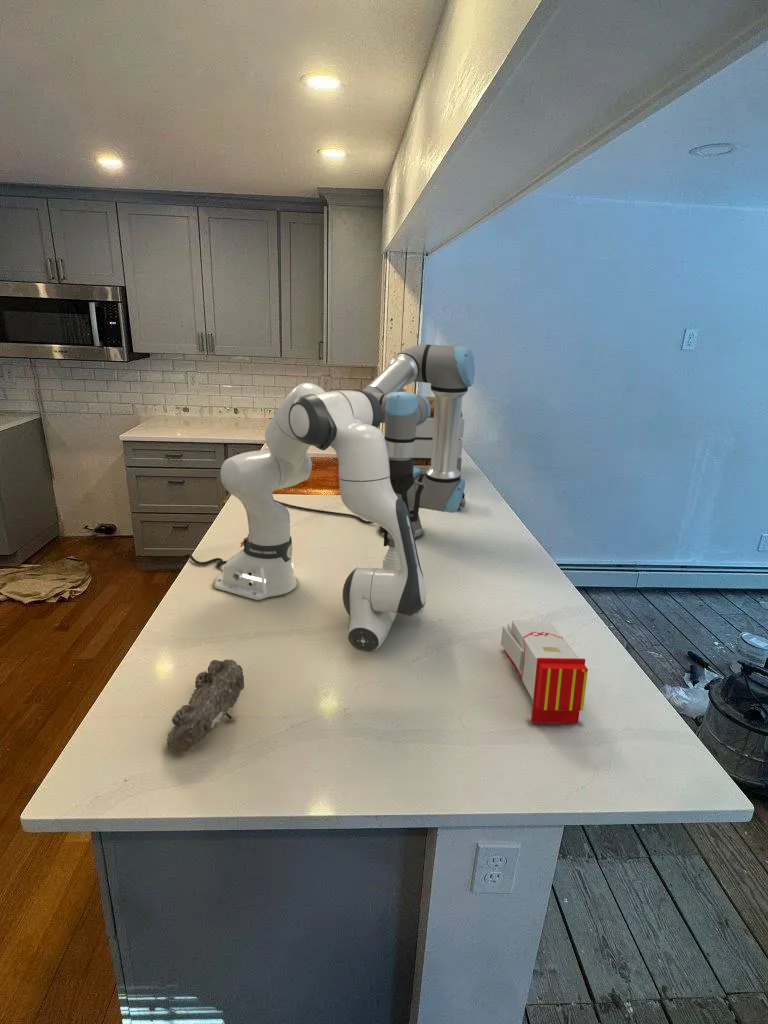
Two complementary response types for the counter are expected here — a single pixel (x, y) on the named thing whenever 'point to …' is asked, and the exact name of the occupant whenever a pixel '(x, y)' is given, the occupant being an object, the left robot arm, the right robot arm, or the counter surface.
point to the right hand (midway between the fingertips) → (394, 544)
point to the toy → (547, 670)
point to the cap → (390, 541)
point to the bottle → (391, 559)
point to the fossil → (206, 705)
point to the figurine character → (462, 502)
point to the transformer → (425, 439)
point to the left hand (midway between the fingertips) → (392, 582)
